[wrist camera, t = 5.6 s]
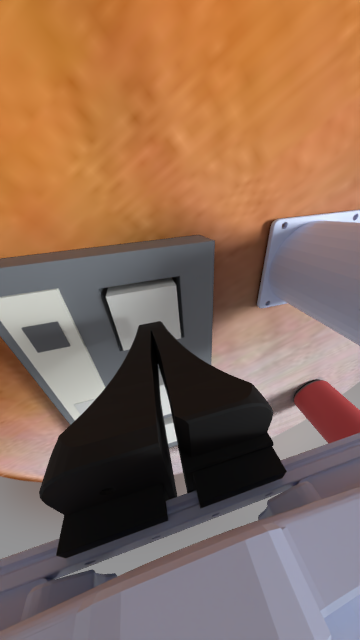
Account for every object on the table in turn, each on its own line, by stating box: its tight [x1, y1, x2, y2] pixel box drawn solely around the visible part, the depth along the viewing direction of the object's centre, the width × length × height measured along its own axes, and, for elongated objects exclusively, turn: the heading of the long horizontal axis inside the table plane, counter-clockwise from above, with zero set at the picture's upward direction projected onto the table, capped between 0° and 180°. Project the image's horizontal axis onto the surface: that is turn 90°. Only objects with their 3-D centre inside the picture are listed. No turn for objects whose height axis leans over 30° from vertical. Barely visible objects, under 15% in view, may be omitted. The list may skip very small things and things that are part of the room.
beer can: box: [294, 380, 360, 444], centre depth 27 cm, size 7×7×12 cm
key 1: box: [106, 277, 181, 350], centre depth 14 cm, size 4×4×3 cm
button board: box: [0, 235, 215, 448], centre depth 18 cm, size 14×25×3 cm, turn 4°
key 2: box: [164, 417, 177, 444], centre depth 22 cm, size 4×4×3 cm
